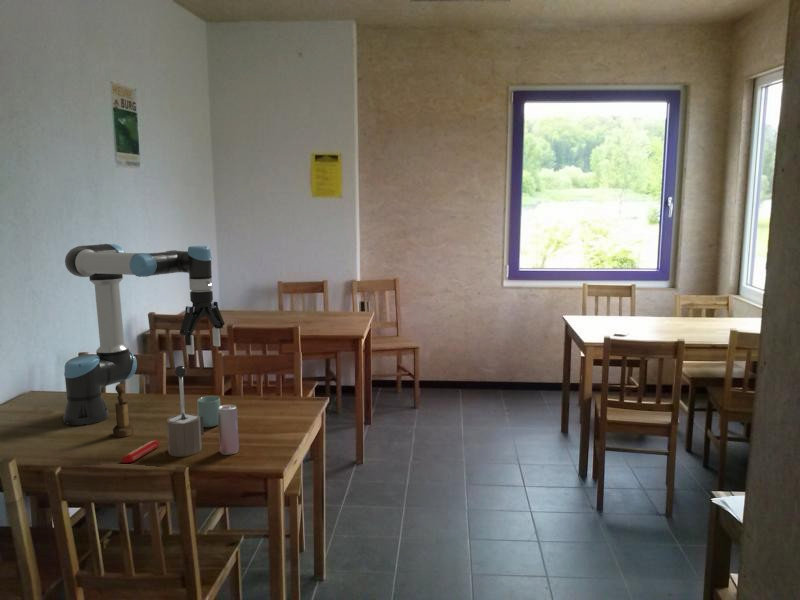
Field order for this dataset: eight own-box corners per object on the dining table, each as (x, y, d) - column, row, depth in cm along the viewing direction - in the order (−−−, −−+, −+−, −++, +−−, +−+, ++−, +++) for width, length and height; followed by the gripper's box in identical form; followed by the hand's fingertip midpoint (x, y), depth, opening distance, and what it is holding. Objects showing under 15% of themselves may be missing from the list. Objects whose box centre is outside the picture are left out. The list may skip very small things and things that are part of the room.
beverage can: (221, 448, 208) (219, 404, 206) (240, 448, 208) (238, 403, 206) (218, 455, 202) (215, 410, 200) (237, 455, 202) (235, 409, 200)
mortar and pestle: (137, 431, 224) (134, 382, 221) (124, 438, 218) (120, 387, 215) (122, 429, 226) (119, 380, 224) (109, 436, 220) (105, 385, 217)
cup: (214, 430, 225) (213, 402, 224) (194, 428, 227) (193, 401, 225) (224, 422, 233) (223, 396, 231) (205, 421, 234) (204, 395, 233)
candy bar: (151, 446, 211) (151, 437, 211) (161, 447, 210) (160, 438, 210) (119, 465, 196) (118, 455, 195) (129, 466, 195) (128, 457, 194)
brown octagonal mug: (162, 453, 204) (159, 421, 202) (191, 439, 216) (189, 409, 214) (185, 458, 200) (183, 425, 198) (214, 444, 212) (212, 413, 210)
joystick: (167, 425, 203) (164, 367, 201) (183, 419, 210) (179, 362, 207) (184, 428, 201) (180, 369, 198) (199, 422, 207) (195, 364, 204)
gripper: (184, 295, 208) (187, 358, 211) (232, 286, 231) (235, 343, 234) (166, 294, 211) (170, 356, 214) (216, 285, 234) (218, 342, 237)
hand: (204, 350), depth 224 cm, fingers open, 13 cm apart
